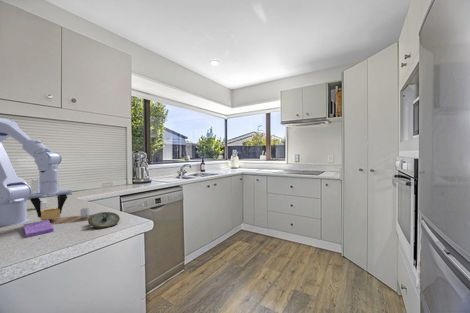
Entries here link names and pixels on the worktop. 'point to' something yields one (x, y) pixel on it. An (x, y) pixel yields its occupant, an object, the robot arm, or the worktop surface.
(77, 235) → the worktop surface
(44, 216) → the collar
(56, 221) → the stand board
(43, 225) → the sponges
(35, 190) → the beer glass
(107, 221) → the lid
